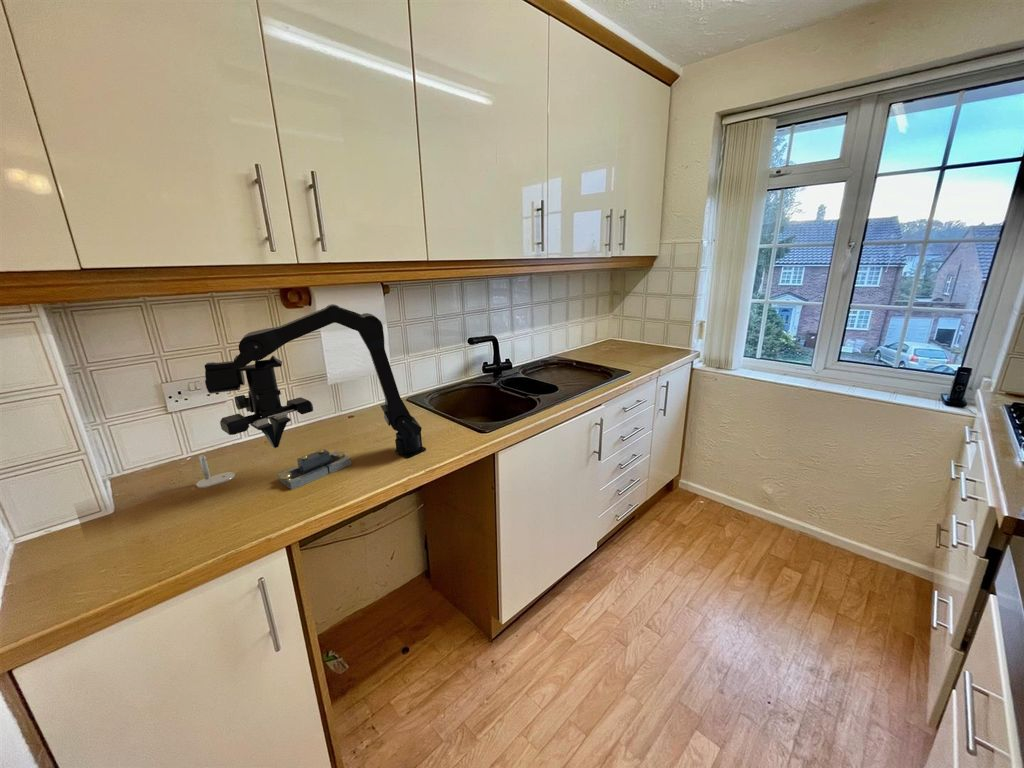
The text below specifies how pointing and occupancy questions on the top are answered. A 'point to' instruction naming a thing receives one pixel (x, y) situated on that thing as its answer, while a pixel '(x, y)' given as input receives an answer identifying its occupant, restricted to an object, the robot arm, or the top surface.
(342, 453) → the end link
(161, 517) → the top surface
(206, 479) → the stand
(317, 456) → the block with brass studs
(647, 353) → the top surface
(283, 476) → the end link
